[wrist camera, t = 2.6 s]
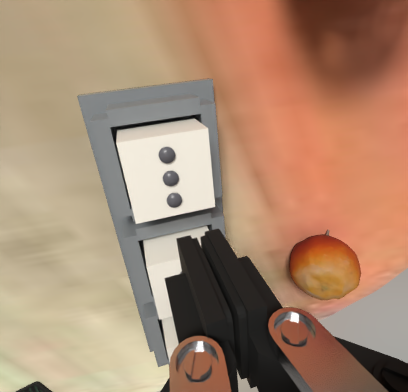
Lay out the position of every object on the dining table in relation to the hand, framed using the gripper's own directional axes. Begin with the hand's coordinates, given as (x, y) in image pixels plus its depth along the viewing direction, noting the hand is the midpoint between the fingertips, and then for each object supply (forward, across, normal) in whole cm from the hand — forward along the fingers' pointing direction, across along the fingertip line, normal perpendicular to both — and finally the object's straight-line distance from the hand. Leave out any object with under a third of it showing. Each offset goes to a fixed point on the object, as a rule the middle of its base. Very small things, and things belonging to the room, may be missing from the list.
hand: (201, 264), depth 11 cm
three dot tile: (+14, 0, 0) cm, 14 cm away
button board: (+17, 0, +10) cm, 20 cm away
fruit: (+17, -18, +17) cm, 30 cm away
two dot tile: (+14, 0, +10) cm, 17 cm away
